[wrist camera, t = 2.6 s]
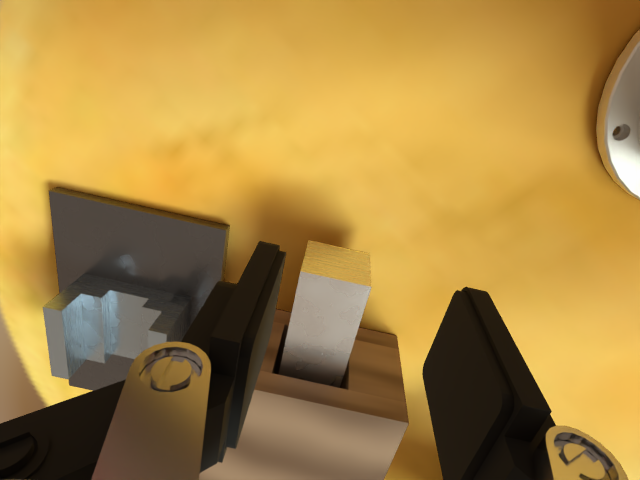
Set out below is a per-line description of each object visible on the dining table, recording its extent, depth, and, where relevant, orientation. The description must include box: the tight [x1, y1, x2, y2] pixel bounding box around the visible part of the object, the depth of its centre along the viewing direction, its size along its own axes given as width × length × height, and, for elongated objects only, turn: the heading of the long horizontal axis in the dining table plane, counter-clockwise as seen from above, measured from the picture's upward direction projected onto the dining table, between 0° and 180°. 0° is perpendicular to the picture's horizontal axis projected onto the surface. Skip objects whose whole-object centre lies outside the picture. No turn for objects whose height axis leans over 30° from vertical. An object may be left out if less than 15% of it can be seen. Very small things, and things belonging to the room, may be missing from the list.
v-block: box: [43, 187, 230, 391], centre depth 29 cm, size 18×12×5 cm, turn 168°
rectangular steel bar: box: [278, 240, 371, 388], centre depth 28 cm, size 18×4×4 cm, turn 168°
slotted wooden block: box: [199, 309, 409, 480], centre depth 29 cm, size 10×12×8 cm
